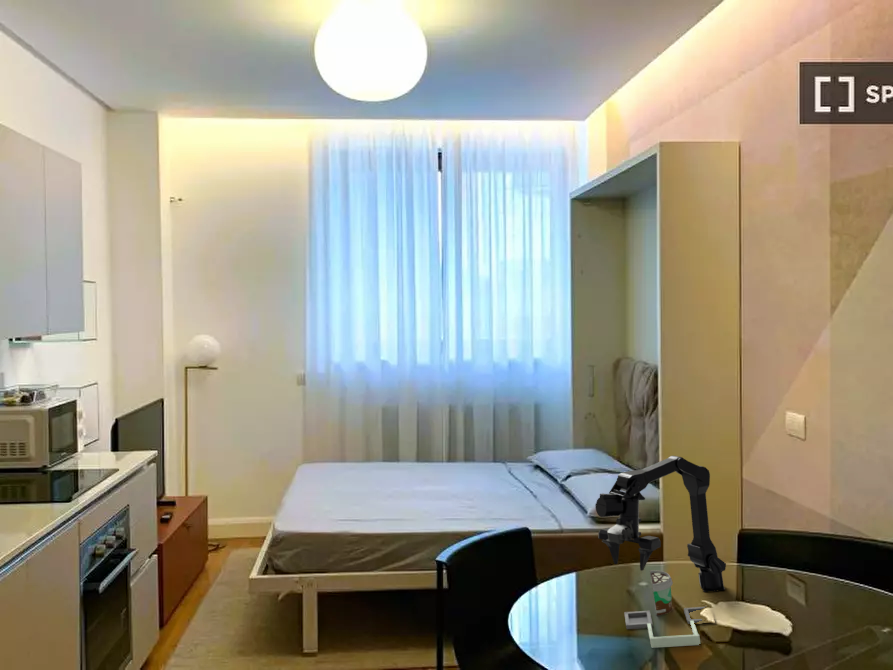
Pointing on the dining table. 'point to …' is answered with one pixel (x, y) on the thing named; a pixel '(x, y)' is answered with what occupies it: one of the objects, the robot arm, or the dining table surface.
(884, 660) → the dining table surface
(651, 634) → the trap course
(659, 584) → the food container
